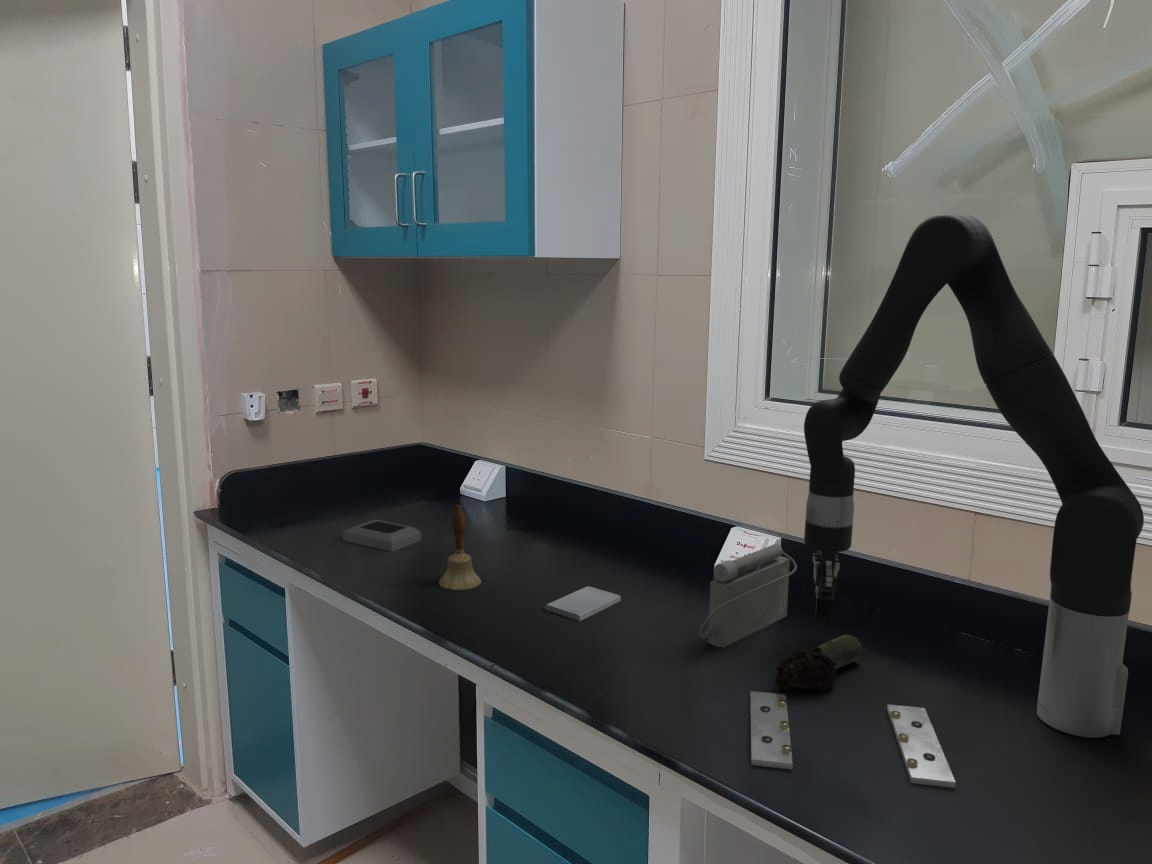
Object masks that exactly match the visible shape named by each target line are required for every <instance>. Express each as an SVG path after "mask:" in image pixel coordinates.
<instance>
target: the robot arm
mask: <svg viewBox="0 0 1152 864" xmlns="http://www.w3.org/2000/svg"><path fill="white" fill-rule="evenodd" d="M946 285H947V286H948V287H949V289H950V290H951V291H952V293H953V295H954V296H955V298H956V300H957V302H958V303H959V304H960V307H961V309H962V310H963V312H964V314H965V317H966V320H967V321H968V322H967V323H968V325H969V329H970V334H971V339H972V340H971V341H972V346H973V352H974V356H975V362H976V366H977V369H978V371H979V372H978V373H979V375H980V377H981V379H982V381H983V383H984V384H985V387H986V388H987V390H988V392H989V394H990V396H991V398H992V400H993V402H994V404H995V406H996V407H997V409H998V410H999V412H1000V414H1001V416H1002V417H1003V418H1004V420H1005V421H1006V422H1007V423H1008V425H1010V427H1011V428H1012V429H1013V431H1015V434H1017V436H1019V437H1020V439H1021V440H1023V442H1025V444H1026V445H1027V446H1028V447H1029V448H1030V449H1031V450H1032V451H1033V452H1034V454H1035V455H1036V456H1037V458H1039V460H1040V461H1041V463H1042V464H1043V466H1044V468H1045V470H1046V471H1047V473H1048V474H1049V477H1050V479H1051V480H1052V483H1053V485H1054V487H1055V490H1056V492H1057V494H1058V497H1059V499H1060V502H1061V504H1062V505H1060V508H1059V509H1058V511H1057V513H1056V517H1055V520H1054V527H1053V535H1052V546H1051V556H1050V566H1049V580H1050V585H1051V586H1050V594H1049V595H1050V597H1049V604H1048V612H1047V619H1046V620H1047V621H1046V628H1045V629H1046V630H1045V636H1044V637H1045V638H1044V646H1043V653H1042V656H1043V657H1042V663H1041V672H1040V679H1039V688H1038V689H1039V690H1038V695H1037V706H1036V714H1037V717H1039V719H1040V720H1041V721H1043V722H1044V723H1045V724H1046V725H1048V726H1050V727H1051V728H1053V729H1055V730H1057V731H1060V732H1063V733H1065V734H1069V735H1072V736H1077V737H1081V738H1090V739H1091V738H1095V739H1097V738H1098V739H1099V738H1105V737H1108V736H1111V735H1114V736H1120V735H1121V727H1122V720H1123V714H1124V713H1123V712H1124V705H1125V699H1126V691H1127V683H1128V677H1129V669H1128V667H1127V666H1126V665H1125V664H1124V663H1123V660H1124V655H1125V654H1124V653H1125V646H1126V637H1127V630H1128V622H1129V615H1130V609H1131V605H1132V604H1131V603H1132V594H1133V593H1132V578H1133V569H1134V561H1135V553H1136V547H1137V541H1138V540H1137V539H1138V538H1139V536H1140V534H1142V531H1143V527H1144V522H1145V521H1144V519H1145V518H1144V517H1145V516H1144V512H1143V508H1142V506H1141V504H1140V501H1139V500H1138V498H1137V497H1136V495H1135V494H1134V493H1133V492H1132V489H1131V488H1130V487H1129V486H1128V484H1127V483H1126V482H1125V481H1124V479H1123V477H1122V476H1121V475H1120V474H1119V472H1118V471H1117V470H1116V468H1115V467H1114V465H1113V464H1112V462H1111V461H1110V459H1109V458H1108V456H1107V455H1106V453H1105V451H1104V450H1103V448H1102V447H1101V446H1100V443H1099V442H1098V441H1097V439H1096V437H1095V435H1094V433H1093V430H1092V428H1091V425H1090V424H1089V422H1088V419H1087V417H1086V414H1085V413H1084V410H1083V408H1082V406H1081V404H1080V402H1079V400H1078V399H1077V397H1076V394H1075V392H1074V390H1073V389H1072V387H1071V385H1070V382H1069V380H1068V378H1067V376H1066V374H1065V373H1064V371H1063V369H1062V367H1061V365H1060V363H1059V362H1058V360H1057V359H1056V356H1055V355H1054V353H1053V351H1052V349H1051V348H1050V346H1049V344H1047V342H1046V340H1045V339H1044V337H1043V335H1042V333H1041V331H1040V329H1039V328H1038V326H1037V324H1036V323H1035V321H1034V320H1033V317H1032V316H1031V314H1030V313H1029V311H1028V309H1027V308H1026V306H1025V305H1024V304H1023V302H1022V300H1021V298H1020V297H1019V295H1018V293H1017V292H1016V290H1015V287H1014V286H1013V284H1012V281H1011V279H1010V277H1009V275H1008V272H1007V270H1006V267H1005V265H1004V262H1003V261H1002V258H1001V255H1000V252H999V249H998V247H997V245H996V243H995V239H994V238H993V235H992V234H991V232H990V230H989V228H988V227H987V226H986V224H984V222H983V221H981V220H980V219H979V218H977V217H976V216H972V215H970V214H967V213H941V214H936V215H933V216H930V217H927V218H926V219H924V220H923V221H921V222H920V223H919V224H918V225H917V226H916V227H915V228H914V230H913V232H912V233H911V235H910V237H909V239H908V241H907V243H906V246H905V247H904V250H903V253H902V256H901V257H900V260H899V262H898V265H897V267H896V269H895V272H894V275H893V277H892V278H891V281H890V283H889V286H888V288H887V289H886V292H885V295H884V296H883V299H882V301H881V303H880V304H879V307H878V309H877V310H876V312H875V314H874V316H873V318H872V319H871V321H870V323H869V324H868V325H867V326H868V327H867V328H866V330H865V331H864V333H863V334H862V337H861V338H860V339H859V341H858V342H857V345H856V346H855V347H854V349H853V351H852V352H851V354H850V355H849V357H848V359H846V362H845V364H844V365H843V366H842V368H841V371H840V373H839V375H838V377H839V378H838V380H839V384H840V386H841V387H842V389H841V392H840V393H839V394H838V396H837V397H836V398H831V399H824V400H818V401H817V402H814V403H813V404H812V405H811V406H810V407H809V408H808V410H807V412H806V414H805V418H804V423H803V433H804V440H805V447H806V451H807V456H808V457H807V458H808V461H809V464H810V465H809V466H810V470H809V485H808V495H807V499H806V507H805V521H804V524H805V525H804V537H803V542H804V544H805V546H806V547H808V548H810V549H812V550H815V551H817V553H813V555H812V562H813V579H814V585H815V586H814V587H815V589H814V592H815V596H816V599H815V611H814V613H815V617H816V619H817V620H825V621H828V620H829V619H830V616H831V604H832V603H831V602H832V600H834V598H835V593H836V589H837V586H838V585H837V584H838V582H839V579H838V572H839V571H840V568H841V567H840V566H841V565H840V564H841V563H840V560H839V555H838V553H840V552H841V553H842V552H846V551H849V550H850V549H851V547H852V542H853V541H852V539H853V526H854V514H855V502H854V492H855V491H854V490H855V477H856V476H855V475H856V466H855V463H854V461H853V460H852V458H850V457H848V456H845V455H844V450H843V442H846V441H850V440H853V439H856V438H857V437H859V436H861V434H863V433H864V431H865V430H866V429H867V428H868V427H869V424H870V423H871V421H872V419H873V417H874V414H875V410H876V408H877V406H878V403H879V402H880V401H879V400H880V397H881V394H882V392H883V391H884V390H885V388H886V387H887V386H888V384H889V383H890V381H891V379H892V378H893V376H894V375H895V374H896V372H897V370H898V369H899V367H900V366H901V364H902V363H903V361H904V359H905V357H906V355H907V352H908V350H909V348H910V346H911V342H912V339H913V336H914V334H915V331H916V328H917V326H918V324H919V321H920V320H921V317H923V315H924V312H925V311H926V309H927V308H928V306H929V305H930V303H932V301H933V299H934V298H935V297H937V295H938V293H939V292H941V290H942V289H944V287H945V286H946Z"/></svg>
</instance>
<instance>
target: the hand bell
mask: <svg viewBox="0 0 1152 864" xmlns="http://www.w3.org/2000/svg"><path fill="white" fill-rule="evenodd" d="M451 525H452V531H453V533H454V537H455V538H454V545H455V547H454V550H455V551H454V553H453V554H451V555H450V556H448V559H447V567H446V571H445V573H444V575H443V576H441V578H440V579H439V581H438V585H439V586H440V587H441V588H442V589H445V590H447V591H448V590H449V591H450V590H451V591H466V590H472V589H475V588H477V587H479V586H480V585H481V583H482V579H481V578H480V576H478V575H477V573H476V572H475V571H474V566H473V562H472V557H471V555H469V554H467V553H465V549H464V548H465V546H464V545H465V544H464V534H465V529H466V516H465V513H464V510H463V507H462V504H455V505H454V508H453V512H452V517H451Z"/></svg>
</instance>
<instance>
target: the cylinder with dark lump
mask: <svg viewBox="0 0 1152 864" xmlns="http://www.w3.org/2000/svg"><path fill="white" fill-rule="evenodd" d="M863 655H864V648H863V646H862V643H861V642H860V640H859V639H858V638H857V636H854V635H851V634H844V635H839V636H837V637H836V638H833V639H831V640H829V641H826V642H825V643H823V644H820V645H818V646H816V647H814V648H810V649H809V650H799V651H796V652H793V653H792V654H790V653H789V654H787V655H785V659H782V660H780V662H779V665H778V666H777V667H776V670H778V671H777V672H776V674H777V675H776V677H775V678H774V680H773V681H774V683H775V684H776V685H778V686H782V688H783V689H785V690H794V689H801V690H806V691H807V690H809V689H811V690H816V691H817V692H822V691H826V690H828V689H830V688H832V686H833V685H834V683H835V682H836V680H837V671H836V670H837V669H839V668H841V667H844V666H847V665H849V664H851V663H853V662H856V661H858V660H860V659H861V658H862V656H863Z"/></svg>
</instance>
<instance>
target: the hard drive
mask: <svg viewBox="0 0 1152 864" xmlns="http://www.w3.org/2000/svg"><path fill="white" fill-rule="evenodd" d="M621 597H622V596H621V595H619V594H617V593H613V592H610V591H605V590H602V589H600V588H595V587H592V586H585V587H583V588H581V589H578V590H576V591H574V592H572V593H569V594H567V595H565V596H563V597H560V598H558V599H556V600H554V601H552V602H549V603H547V604H545V605H544V610H545V611H548V612H552V613H554V614H558V615H560V616H562V617H566V618H569V619H572V620H576V621H578V622H581V621H583V620H585V619H587V618H590V617H591V616H593V615H595V614H597V613H600V612H601V611H603V610H605V609H607V608H609V607H611V606H613V605H615V604H617V603H619V602H621V601H622V598H621Z"/></svg>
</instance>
